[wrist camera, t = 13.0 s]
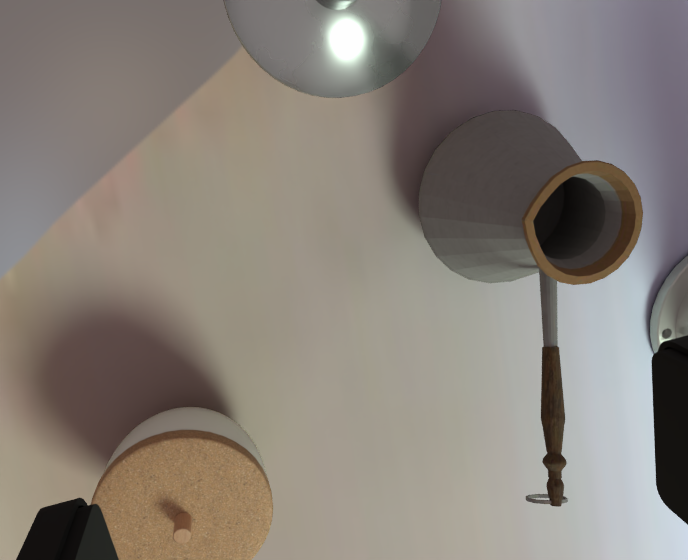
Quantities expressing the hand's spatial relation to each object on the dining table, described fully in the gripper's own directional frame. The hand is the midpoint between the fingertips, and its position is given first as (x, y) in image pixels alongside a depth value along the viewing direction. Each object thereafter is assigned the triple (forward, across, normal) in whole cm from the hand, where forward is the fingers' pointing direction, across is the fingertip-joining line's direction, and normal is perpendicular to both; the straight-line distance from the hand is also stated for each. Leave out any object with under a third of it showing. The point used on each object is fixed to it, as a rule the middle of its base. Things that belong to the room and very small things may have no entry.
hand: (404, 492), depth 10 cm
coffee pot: (+32, -14, +7) cm, 36 cm away
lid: (+27, -6, -12) cm, 30 cm away
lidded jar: (+32, +9, +16) cm, 37 cm away
